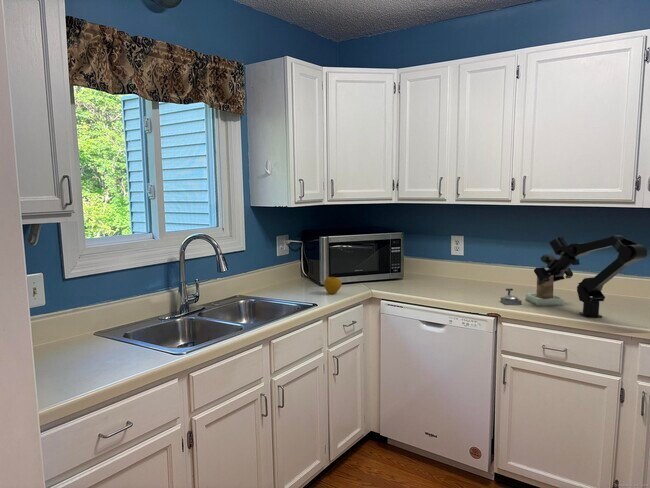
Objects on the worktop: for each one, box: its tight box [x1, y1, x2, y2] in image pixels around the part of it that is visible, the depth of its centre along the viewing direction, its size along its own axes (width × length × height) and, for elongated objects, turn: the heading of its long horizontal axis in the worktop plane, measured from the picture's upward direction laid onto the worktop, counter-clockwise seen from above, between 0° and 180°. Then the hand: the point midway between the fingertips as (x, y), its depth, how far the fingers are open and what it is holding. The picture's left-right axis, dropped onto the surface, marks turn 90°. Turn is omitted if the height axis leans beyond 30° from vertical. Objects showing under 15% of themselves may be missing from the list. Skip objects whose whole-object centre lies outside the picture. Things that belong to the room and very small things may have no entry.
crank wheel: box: [503, 288, 519, 300], centre depth 221 cm, size 6×6×4 cm
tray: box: [525, 292, 565, 307], centre depth 223 cm, size 12×12×3 cm
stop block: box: [536, 268, 554, 299], centre depth 222 cm, size 5×5×13 cm
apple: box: [323, 276, 342, 295], centre depth 242 cm, size 9×9×9 cm
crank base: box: [500, 296, 523, 306], centre depth 222 cm, size 7×7×2 cm
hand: (542, 283), depth 223 cm, fingers closed on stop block, 5 cm apart
